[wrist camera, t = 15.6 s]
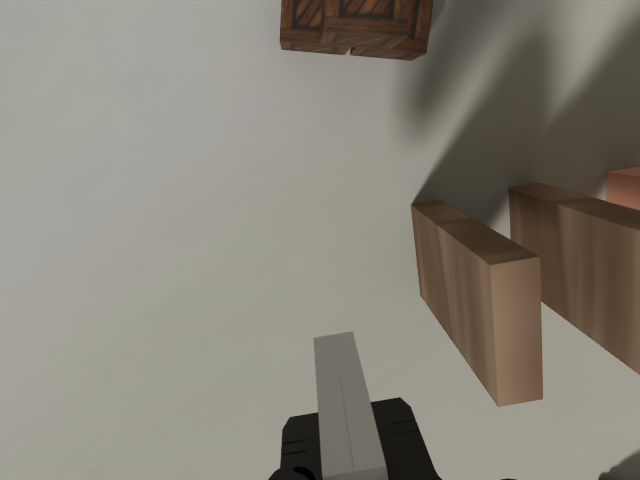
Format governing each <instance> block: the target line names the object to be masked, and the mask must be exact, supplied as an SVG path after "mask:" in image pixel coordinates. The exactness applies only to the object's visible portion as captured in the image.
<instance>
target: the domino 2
mask: <svg viewBox="0 0 640 480" xmlns="http://www.w3.org/2000/svg"><path fill="white" fill-rule="evenodd" d="M509 206H510V231H511V240H512V241H513V242H515V243H517V244H519V245H520V246H522V247H524V248H526V249H527V250H529V251H531V252H533V253H534V254H536V255H538V256H540V281H541V301H542V302H543V303H544V304H546V305H547V306H548V307H550V308H551V309H552V310H554V311H555V312H556V313H558V314H559V315H560V316H562V317H563V318H564V319H566V320H567V321H568V322H570V323H571V324H572V325H574V326H575V327H576V328H578V329H579V330H580V331H582V332H583V333H584V334H586V335H587V336H588V337H590V338H591V339H592V340H594V341H595V342H596V343H598V344H599V345H600V346H602V347H603V348H604V349H606V350H607V351H608V352H610V353H611V354H612V355H614V356H615V357H616V358H618V359H619V360H620V361H622V362H623V363H624V364H626V365H627V366H628V367H630V368H631V369H632V370H634V371H635V372H636V373H638V374H639V375H640V210H637V209H633V208H629V207H626V206H622V205H618V204H614V203H611V202H607V201H603V200H600V199H596V198H592V197H588V196H585V195H581V194H577V193H573V192H570V191H566V190H562V189H559V188H555V187H551V186H547V185H544V184H540V183H535V184H529V185H524V186H518V187H512V188H509Z"/></svg>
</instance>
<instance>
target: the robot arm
mask: <svg viewBox="0 0 640 480" xmlns="http://www.w3.org/2000/svg"><path fill="white" fill-rule="evenodd" d="M314 350H315V367H316V383H317V399H318V413H312V414H306V415H300V416H294V417H290V418H289V419H288V421H287V423H286V425H285V426H284V428H283V430H282V447H281V465H280V469H278V470H277V471H275V472H274V473H273V474H272V476H271V477H270V478H269V479H268V480H442V479H441V478H440V477H439V476H438V474H437V473H436V471H435V469H434V466H433V464H432V461H431V459H430V456H429V453H428V451H427V448H426V446H425V443H424V440H423V438H422V435H421V433H420V431H419V427H418V425H417V422H416V420H415V417H414V414H413V412H412V409H411V407H410V406H409V405H408V404H407V403H406V402H405V401H403V400H402V399H401V398H400V397H399V398H393V399H387V400H381V401H376V402H370V399H369V395H368V391H367V387H366V383H365V379H364V375H363V371H362V367H361V363H360V359H359V355H358V351H357V347H356V343H355V339H354V335H353V331H352V332H346V333H340V334H334V335H328V336H323V337H317V338H314ZM502 480H515V479H502Z"/></svg>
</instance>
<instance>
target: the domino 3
mask: <svg viewBox="0 0 640 480" xmlns="http://www.w3.org/2000/svg"><path fill="white" fill-rule="evenodd" d="M606 201H607V202H611V203H614V204H618V205H622V206H626V207H629V208H633V209H637V210H640V167H638V166H635V167H629V168H624V169H618V170H613V171H607V200H606Z"/></svg>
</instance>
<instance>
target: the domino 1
mask: <svg viewBox="0 0 640 480" xmlns="http://www.w3.org/2000/svg"><path fill="white" fill-rule="evenodd" d="M411 211H412V220H413V229H414V239H415V248H416V257H417V267H418V276H419V285H420V295H421V297H422V298H423V300H424V301H425V303H426V304H427V306H428V307H429V308H430V310H431V311H432V313H433V314H434V316H435V317H436V319H437V320H438V321H439V323H440V324H441V326H442V327H443V329H444V330H445V331H446V333H447V334H448V336H449V337H450V339H451V340H452V341H453V343H454V344H455V346H456V347H457V349H458V350H459V352H460V353H461V354H462V356H463V357H464V359H465V360H466V362H467V363H468V364H469V366H470V367H471V369H472V370H473V372H474V373H475V374H476V376H477V377H478V379H479V380H480V382H481V383H482V385H483V386H484V387H485V389H486V390H487V392H488V393H489V395H490V396H491V397H492V399H493V400H494V402H495V403H496V405H497V406H498V407H500V406H506V405H512V404H517V403H523V402H529V401H535V400H540V399H543V376H542V329H541V281H540V256H538V255H536V254H534V253H533V252H531V251H529V250H527V249H526V248H524V247H522V246H520V245H519V244H517V243H515V242H513V241H512V240H510V239H508V238H506V237H505V236H503V235H501V234H499V233H497V232H496V231H494V230H492V229H490V228H489V227H487V226H485V225H483V224H482V223H480V222H478V221H476V220H475V219H473V218H471V217H469V216H468V215H466V214H464V213H462V212H461V211H459V210H457V209H455V208H454V207H452V206H450V205H448V204H447V203H445V202H443V201H441V200H437V201H431V202H426V203H420V204H414V205H411Z"/></svg>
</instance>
